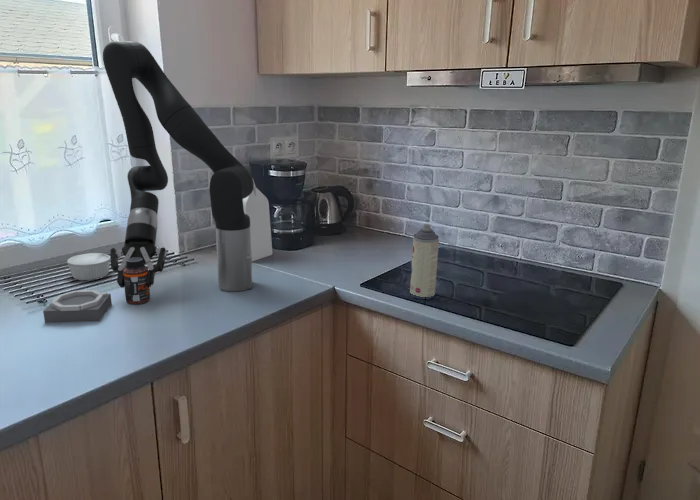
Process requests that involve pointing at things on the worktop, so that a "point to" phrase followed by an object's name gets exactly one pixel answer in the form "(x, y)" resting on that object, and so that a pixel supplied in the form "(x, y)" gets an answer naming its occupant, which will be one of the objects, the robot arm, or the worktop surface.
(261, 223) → the milk
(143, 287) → the supplement bottle
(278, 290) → the worktop surface
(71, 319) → the octagonal shallow tray
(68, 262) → the ramekin
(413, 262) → the aerosol can
